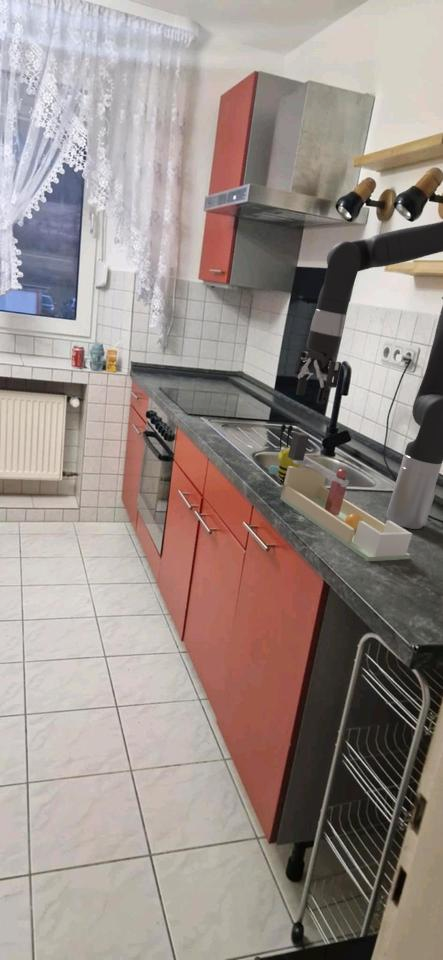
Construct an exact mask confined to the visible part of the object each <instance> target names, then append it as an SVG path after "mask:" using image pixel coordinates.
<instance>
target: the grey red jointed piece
mask: <svg viewBox="0 0 443 960" xmlns="http://www.w3.org/2000/svg"><path fill="white" fill-rule="evenodd" d="M309 438H310V435H309V434H307V433H305V432H299V431H293V433H292V437H291V442H290V446H289V448H290V450H289V454H288V457H289V458H291V459H292V460H293V462H294V463H295V464H300V465H304V467H309V468H311V469H312V470H314V471H316V472H317V473H319V474H321V475H322V476H324V477H326V479H327V480H329V481H331V484H330V487H329V490H330V491H329V495H328V498H327V502H326V506H325V510H326V511H328V512H329V513H331V514H332V515H339V513H340V509H341V505H342V502H343V499H345V494H346V489H347V487H348V485H349V482H350V481H349V479H347V477H348V471H347V470H346V469H345V468H340V469H338V470H337V471H336V472H334V471H333V470H331V469H329V468H327V467H325V466H324V465H322V464H320V463H318V462H317V461H315V460H313V459H311V458H310V457H308V456H307V455H306V451H307V447H308V442H309V440H310V439H309Z"/></svg>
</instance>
